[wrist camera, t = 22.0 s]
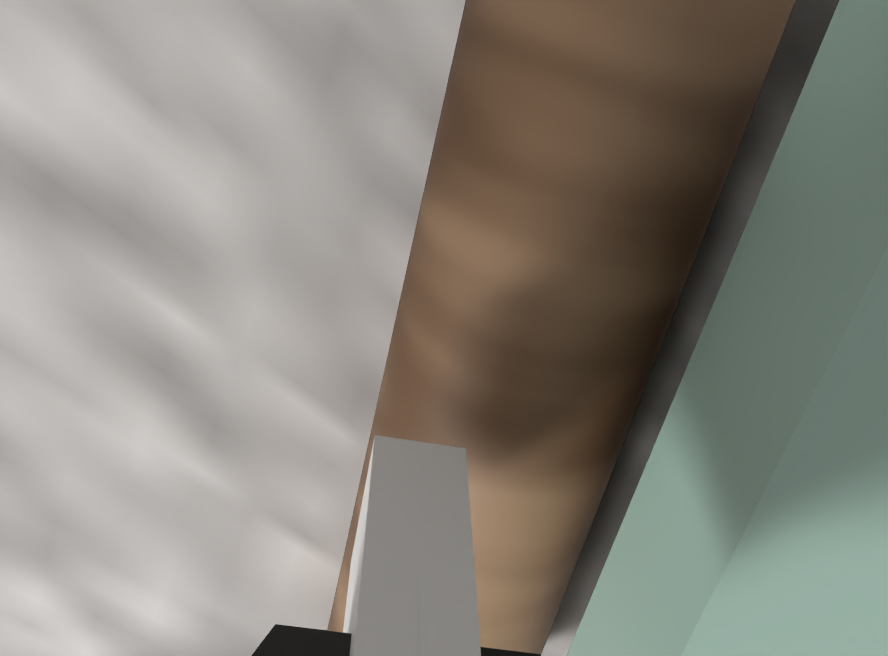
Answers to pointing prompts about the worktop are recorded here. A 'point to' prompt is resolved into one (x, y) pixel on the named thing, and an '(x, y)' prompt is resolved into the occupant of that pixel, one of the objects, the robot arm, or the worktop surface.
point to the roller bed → (558, 262)
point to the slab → (778, 408)
